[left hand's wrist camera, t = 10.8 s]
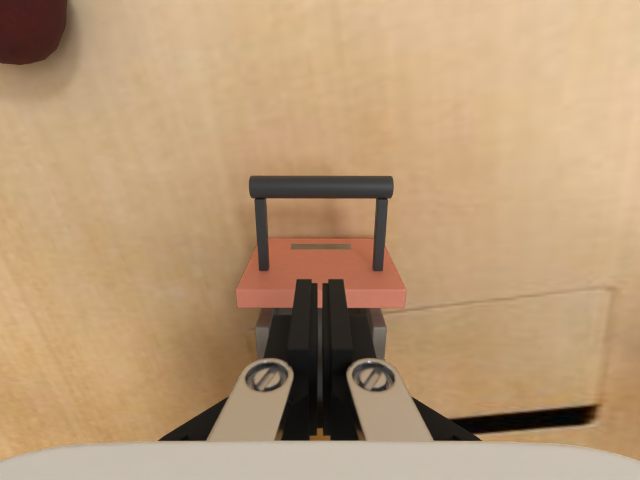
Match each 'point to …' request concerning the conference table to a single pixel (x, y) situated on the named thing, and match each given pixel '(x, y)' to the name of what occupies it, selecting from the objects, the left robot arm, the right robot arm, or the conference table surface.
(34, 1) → the potato
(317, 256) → the drawer
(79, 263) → the conference table surface
